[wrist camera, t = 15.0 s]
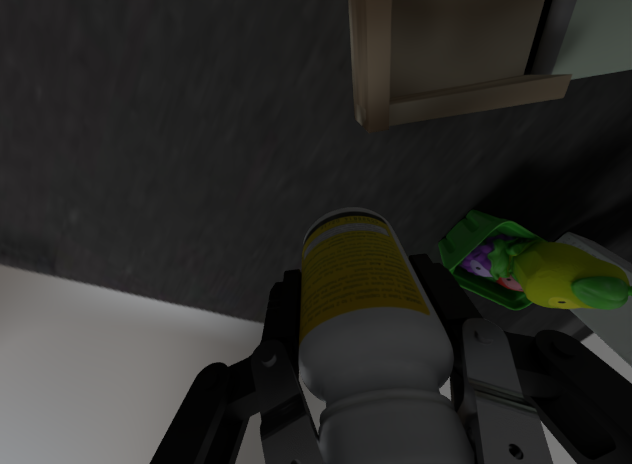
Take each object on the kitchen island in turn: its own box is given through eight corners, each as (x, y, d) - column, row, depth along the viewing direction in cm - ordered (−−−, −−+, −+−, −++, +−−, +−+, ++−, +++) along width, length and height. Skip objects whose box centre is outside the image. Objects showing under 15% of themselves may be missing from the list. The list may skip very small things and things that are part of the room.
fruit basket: (420, 247, 27) (478, 338, 17) (482, 182, 23) (603, 257, 13) (488, 279, 30) (569, 372, 20) (554, 227, 25) (696, 315, 16)
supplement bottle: (283, 240, 14) (245, 485, 6) (361, 184, 12) (476, 433, 4) (337, 288, 16) (366, 506, 8) (409, 248, 14) (541, 482, 6)
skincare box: (565, 229, 26) (729, 328, 15) (594, 240, 26) (768, 340, 16) (521, 268, 29) (633, 372, 19) (548, 277, 30) (669, 380, 20)
